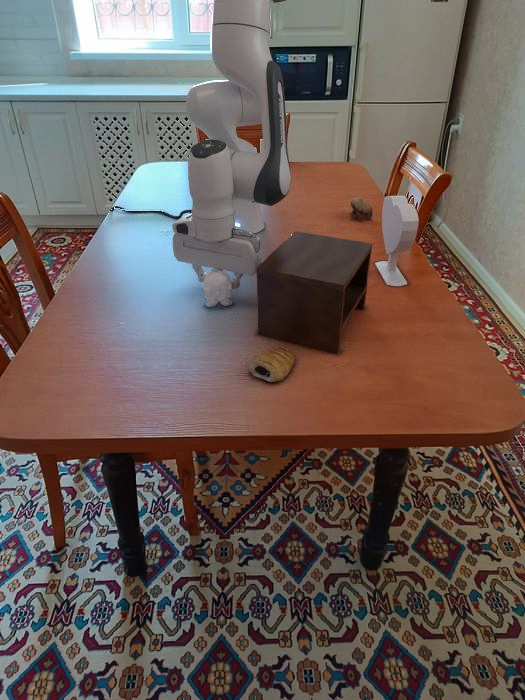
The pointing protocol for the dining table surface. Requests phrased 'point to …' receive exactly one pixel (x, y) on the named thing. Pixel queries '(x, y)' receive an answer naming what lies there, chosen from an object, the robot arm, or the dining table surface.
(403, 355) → the dining table surface
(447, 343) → the dining table surface
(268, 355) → the pastry
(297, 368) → the dining table surface
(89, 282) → the dining table surface
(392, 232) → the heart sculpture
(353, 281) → the shelf stand
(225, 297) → the white figurine
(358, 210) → the mushroom
